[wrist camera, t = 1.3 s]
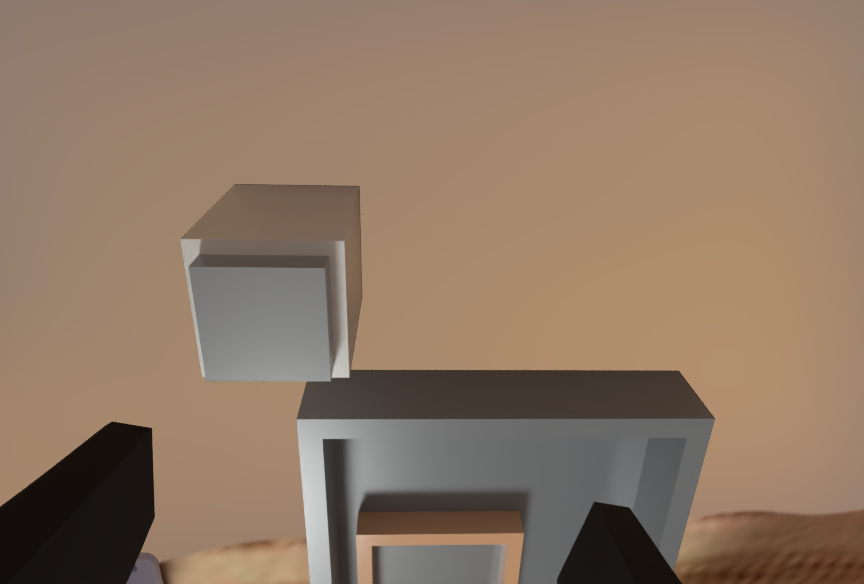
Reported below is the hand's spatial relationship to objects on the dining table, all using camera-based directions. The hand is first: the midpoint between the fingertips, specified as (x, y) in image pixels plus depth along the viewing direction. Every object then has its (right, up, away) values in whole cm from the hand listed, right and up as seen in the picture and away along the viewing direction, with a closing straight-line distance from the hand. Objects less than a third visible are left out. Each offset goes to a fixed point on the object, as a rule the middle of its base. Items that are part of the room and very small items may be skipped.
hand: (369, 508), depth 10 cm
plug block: (-3, +5, +11) cm, 12 cm away
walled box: (+3, -8, +17) cm, 19 cm away
